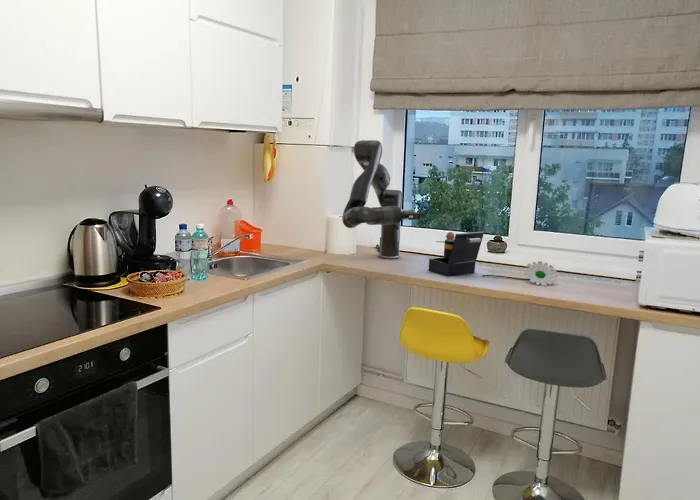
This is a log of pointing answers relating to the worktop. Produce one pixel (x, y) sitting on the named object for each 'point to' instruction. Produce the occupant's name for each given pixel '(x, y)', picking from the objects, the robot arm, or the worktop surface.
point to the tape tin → (447, 250)
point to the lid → (466, 247)
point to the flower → (537, 273)
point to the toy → (448, 237)
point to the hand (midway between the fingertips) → (418, 213)
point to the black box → (451, 267)
